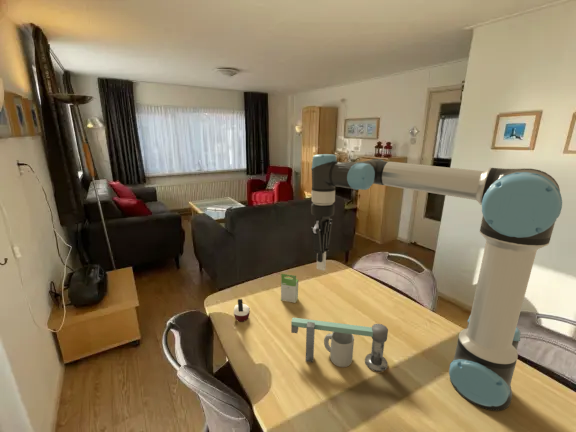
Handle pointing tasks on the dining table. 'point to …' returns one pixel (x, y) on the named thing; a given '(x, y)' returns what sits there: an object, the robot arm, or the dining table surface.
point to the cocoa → (241, 311)
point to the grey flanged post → (376, 358)
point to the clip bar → (344, 328)
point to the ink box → (289, 288)
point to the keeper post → (310, 341)
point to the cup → (340, 348)
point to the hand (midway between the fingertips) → (321, 268)
